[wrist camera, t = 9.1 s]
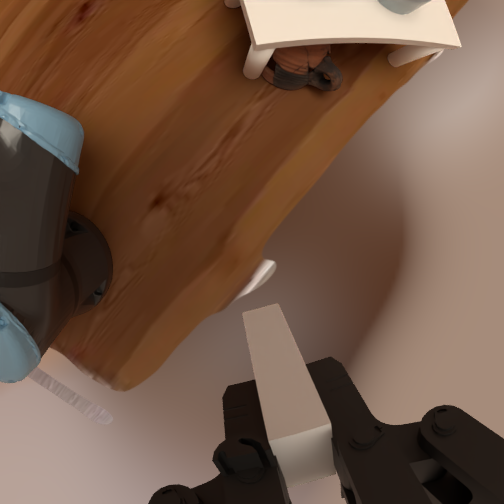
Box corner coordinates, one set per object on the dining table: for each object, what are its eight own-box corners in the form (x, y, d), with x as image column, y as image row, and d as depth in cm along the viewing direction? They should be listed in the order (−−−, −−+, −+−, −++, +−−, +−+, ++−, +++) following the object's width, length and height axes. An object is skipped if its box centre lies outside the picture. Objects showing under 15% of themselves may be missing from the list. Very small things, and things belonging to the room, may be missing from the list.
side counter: (242, 81, 36) (256, 44, 23) (220, -3, 31) (224, -59, 18) (403, 67, 37) (461, 46, 24) (377, -8, 32) (423, -44, 19)
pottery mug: (239, 68, 36) (252, 21, 28) (278, 43, 39) (295, 3, 31) (313, 120, 36) (341, 77, 28) (344, 89, 39) (371, 51, 31)
